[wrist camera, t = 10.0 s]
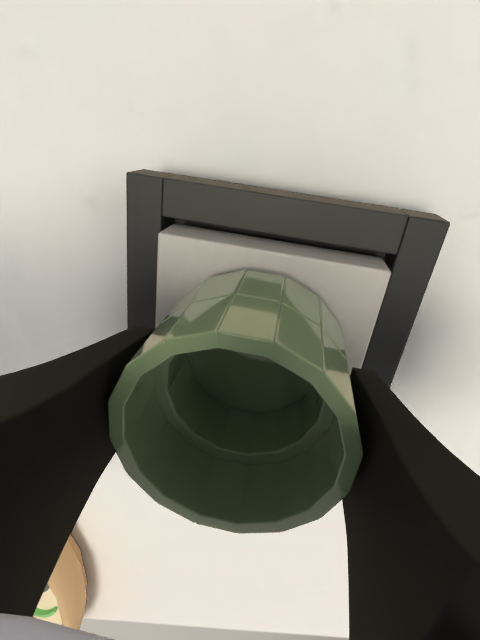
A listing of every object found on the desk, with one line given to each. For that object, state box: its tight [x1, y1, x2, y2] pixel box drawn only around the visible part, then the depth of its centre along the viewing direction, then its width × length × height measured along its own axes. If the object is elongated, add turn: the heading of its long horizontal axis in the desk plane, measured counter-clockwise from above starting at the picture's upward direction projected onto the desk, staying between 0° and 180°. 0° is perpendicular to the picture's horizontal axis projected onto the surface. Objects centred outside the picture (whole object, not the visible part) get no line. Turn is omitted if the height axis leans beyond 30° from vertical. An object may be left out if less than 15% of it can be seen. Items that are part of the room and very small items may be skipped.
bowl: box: [108, 270, 363, 533], centre depth 11 cm, size 6×6×4 cm
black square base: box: [127, 169, 450, 388], centre depth 15 cm, size 10×10×3 cm
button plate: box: [155, 224, 391, 374], centre depth 13 cm, size 7×7×2 cm
